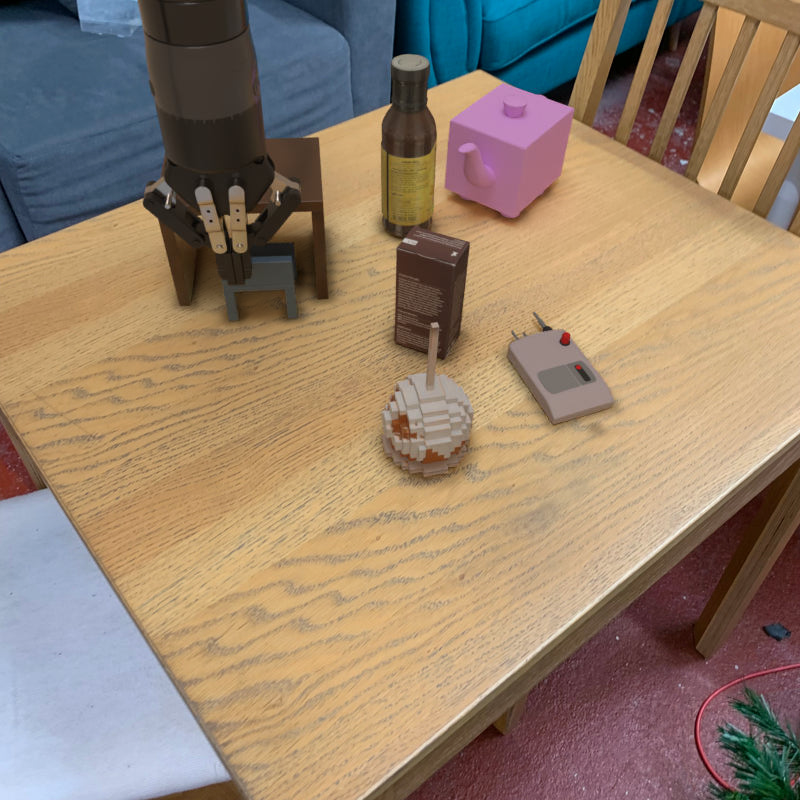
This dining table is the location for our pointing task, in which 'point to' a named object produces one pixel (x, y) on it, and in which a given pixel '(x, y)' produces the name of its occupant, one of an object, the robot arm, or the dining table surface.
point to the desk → (289, 162)
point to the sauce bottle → (408, 149)
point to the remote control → (559, 374)
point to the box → (430, 289)
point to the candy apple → (427, 419)
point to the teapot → (507, 148)
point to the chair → (267, 276)
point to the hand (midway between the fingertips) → (237, 279)
